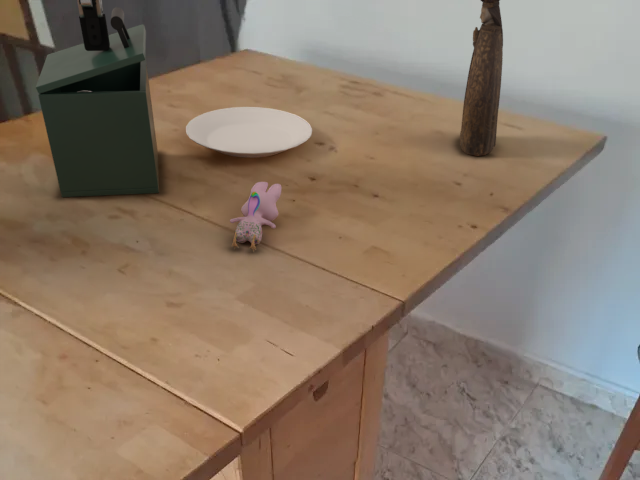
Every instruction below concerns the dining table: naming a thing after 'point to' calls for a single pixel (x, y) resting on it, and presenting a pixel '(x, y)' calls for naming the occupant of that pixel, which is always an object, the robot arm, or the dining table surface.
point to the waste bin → (103, 134)
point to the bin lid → (94, 56)
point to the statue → (483, 84)
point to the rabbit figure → (257, 213)
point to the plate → (249, 131)
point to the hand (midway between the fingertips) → (97, 48)
